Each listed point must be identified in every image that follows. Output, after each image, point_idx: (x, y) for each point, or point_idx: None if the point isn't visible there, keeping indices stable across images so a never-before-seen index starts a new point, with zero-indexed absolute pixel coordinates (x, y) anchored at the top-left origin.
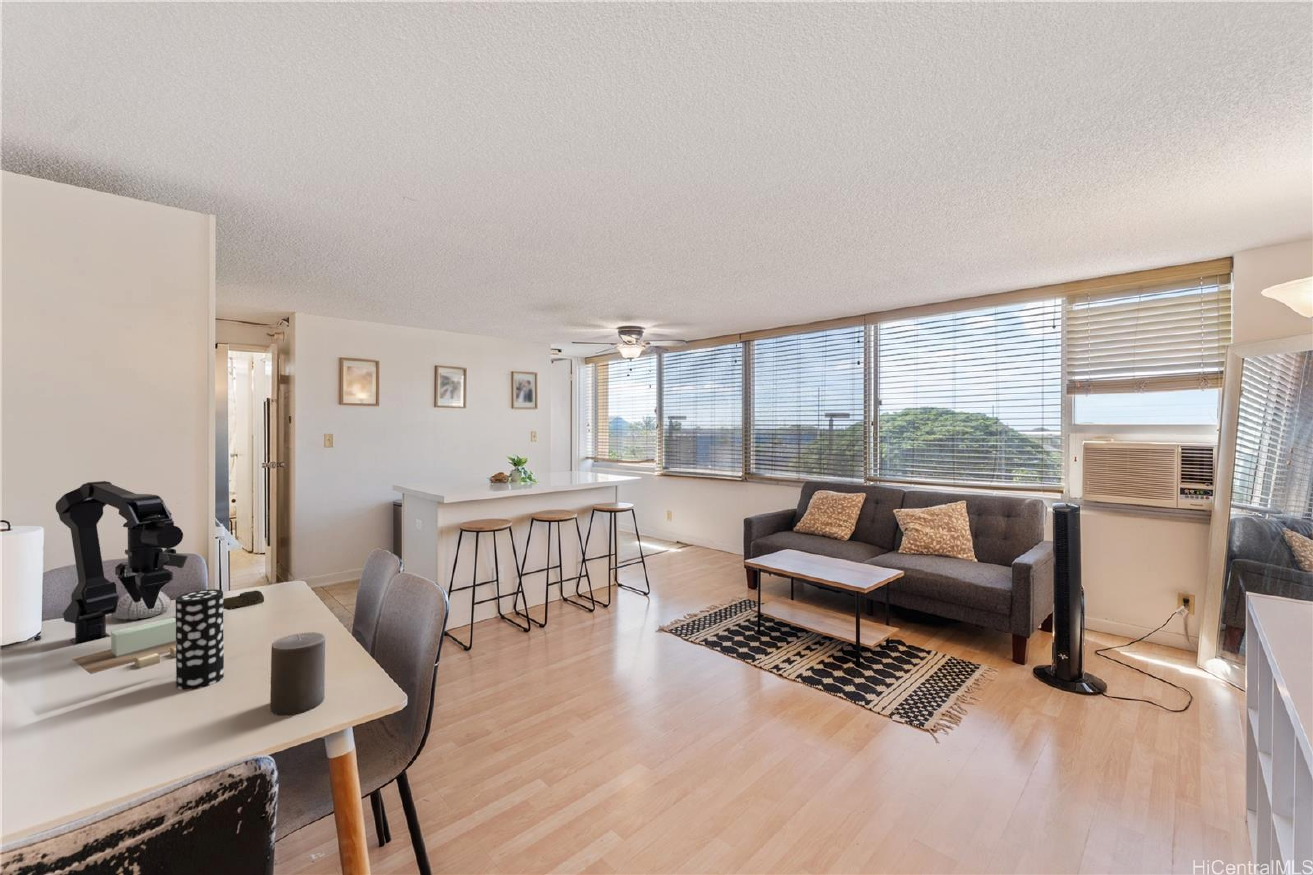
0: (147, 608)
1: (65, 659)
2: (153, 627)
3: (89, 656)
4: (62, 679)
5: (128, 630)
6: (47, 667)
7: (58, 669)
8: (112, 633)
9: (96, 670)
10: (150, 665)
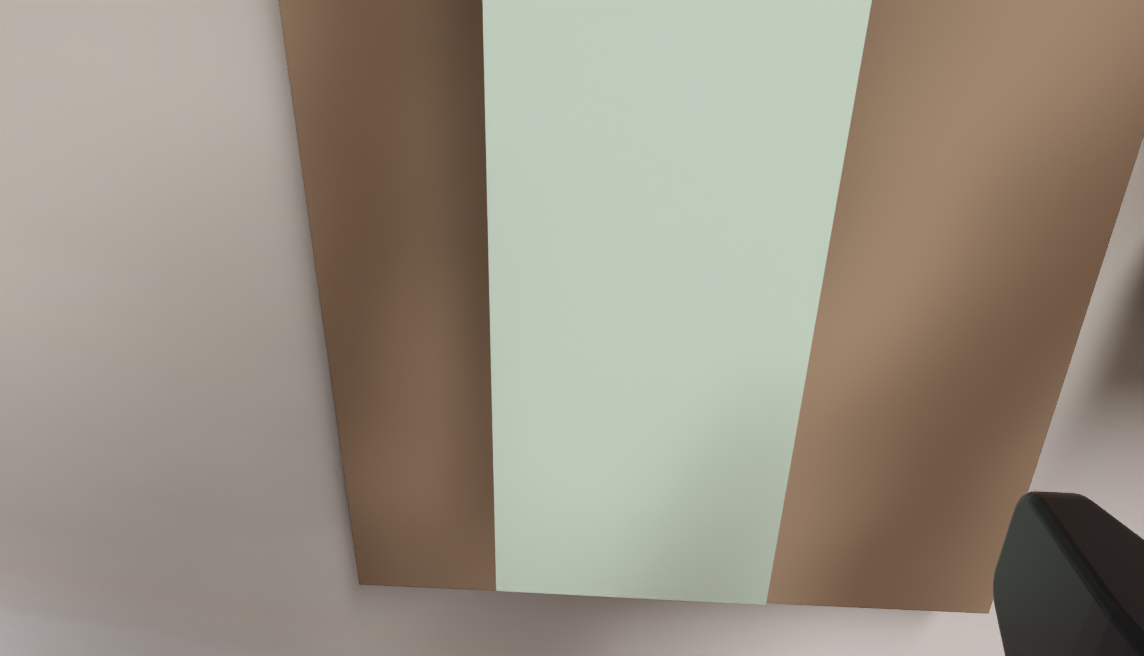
0: (1001, 610)
1: (128, 524)
2: (839, 170)
3: (409, 499)
4: (701, 646)
5: (647, 460)
6: (257, 629)
7: (392, 606)
8: (565, 588)
9: (943, 573)
10: None
